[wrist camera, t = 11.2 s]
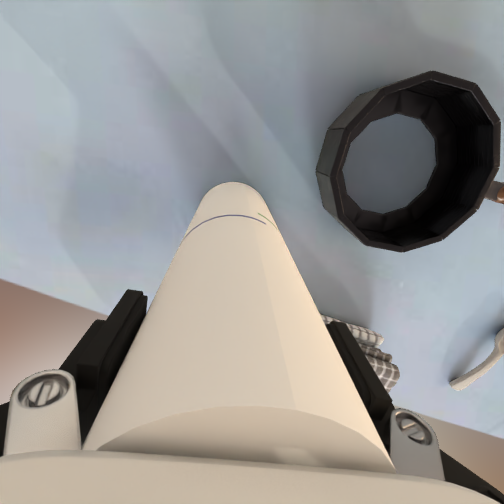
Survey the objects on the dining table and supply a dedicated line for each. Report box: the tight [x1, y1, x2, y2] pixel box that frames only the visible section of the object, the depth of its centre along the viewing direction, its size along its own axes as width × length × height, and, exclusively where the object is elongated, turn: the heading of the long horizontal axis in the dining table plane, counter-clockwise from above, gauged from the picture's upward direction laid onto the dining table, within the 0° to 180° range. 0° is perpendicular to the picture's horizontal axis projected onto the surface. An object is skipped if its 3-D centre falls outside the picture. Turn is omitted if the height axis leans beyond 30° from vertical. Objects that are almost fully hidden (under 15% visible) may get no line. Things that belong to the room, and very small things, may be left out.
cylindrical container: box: [82, 182, 397, 474], centre depth 18 cm, size 7×7×25 cm
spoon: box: [449, 328, 504, 390], centre depth 38 cm, size 3×12×2 cm, turn 152°
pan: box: [316, 71, 504, 252], centre depth 27 cm, size 14×25×4 cm, turn 78°
